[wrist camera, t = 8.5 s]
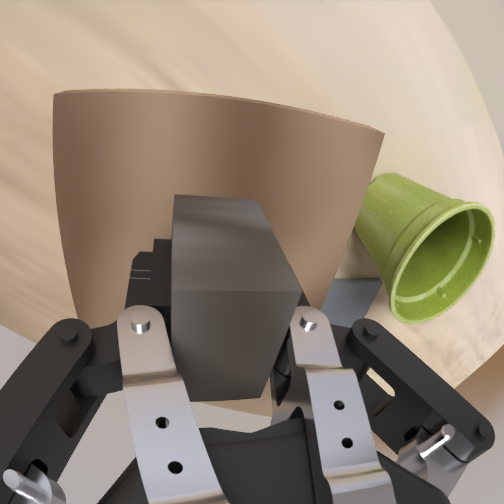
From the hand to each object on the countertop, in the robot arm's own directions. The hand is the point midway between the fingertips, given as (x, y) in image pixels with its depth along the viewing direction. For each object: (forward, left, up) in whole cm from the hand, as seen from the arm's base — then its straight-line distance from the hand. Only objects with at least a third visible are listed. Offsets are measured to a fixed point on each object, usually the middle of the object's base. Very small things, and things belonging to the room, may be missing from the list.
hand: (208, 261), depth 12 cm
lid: (0, 0, -2) cm, 2 cm away
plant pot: (+15, -1, -9) cm, 18 cm away
